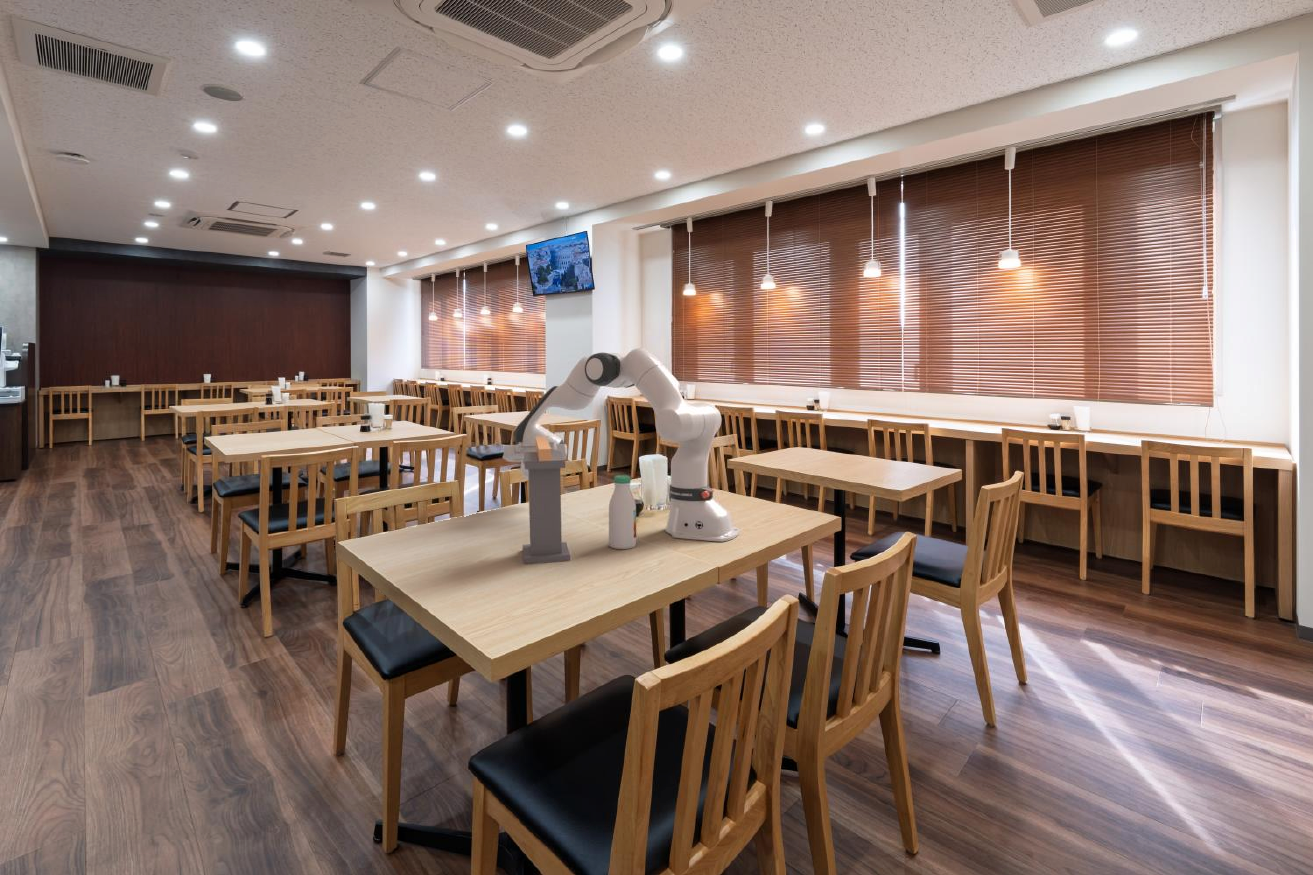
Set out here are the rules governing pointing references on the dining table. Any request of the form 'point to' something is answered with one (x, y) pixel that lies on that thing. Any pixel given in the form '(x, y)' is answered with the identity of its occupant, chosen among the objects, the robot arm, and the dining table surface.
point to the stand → (545, 509)
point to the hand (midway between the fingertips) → (536, 444)
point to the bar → (543, 448)
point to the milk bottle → (622, 515)
